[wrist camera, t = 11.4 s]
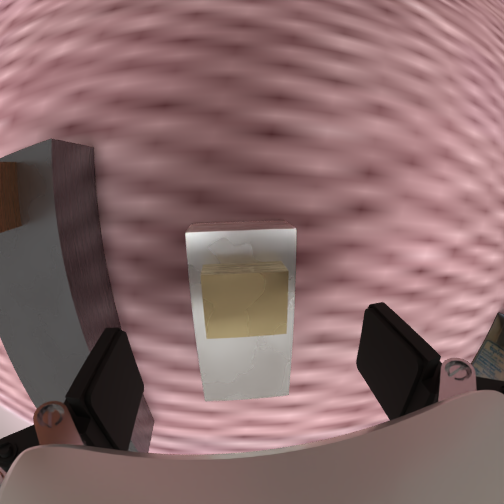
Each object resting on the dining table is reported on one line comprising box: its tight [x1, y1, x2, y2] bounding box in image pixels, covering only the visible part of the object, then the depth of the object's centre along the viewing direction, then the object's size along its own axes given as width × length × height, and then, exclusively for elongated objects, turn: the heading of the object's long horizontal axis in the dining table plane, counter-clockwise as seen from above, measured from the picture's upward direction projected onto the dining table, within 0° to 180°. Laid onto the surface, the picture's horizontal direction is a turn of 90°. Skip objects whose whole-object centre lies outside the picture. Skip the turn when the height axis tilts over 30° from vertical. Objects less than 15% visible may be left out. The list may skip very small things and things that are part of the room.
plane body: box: [0, 139, 154, 453], centre depth 10 cm, size 20×7×12 cm, turn 3°
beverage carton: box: [471, 313, 504, 381], centre depth 20 cm, size 8×19×7 cm, turn 160°
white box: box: [185, 220, 297, 401], centre depth 14 cm, size 10×5×4 cm, turn 1°
